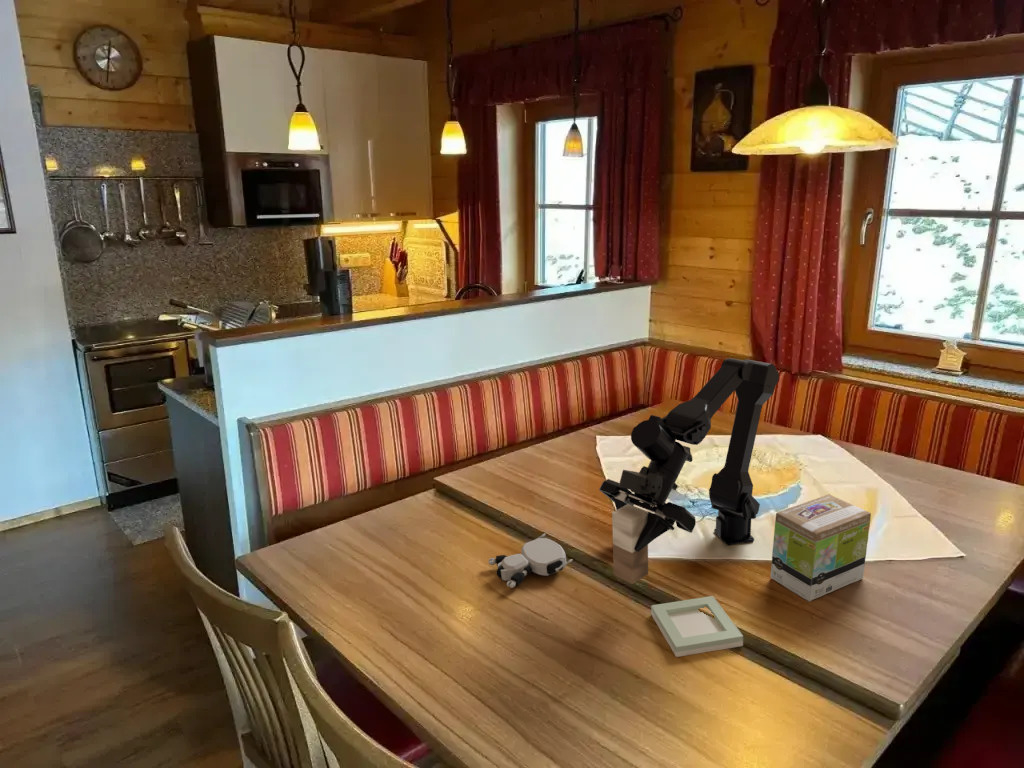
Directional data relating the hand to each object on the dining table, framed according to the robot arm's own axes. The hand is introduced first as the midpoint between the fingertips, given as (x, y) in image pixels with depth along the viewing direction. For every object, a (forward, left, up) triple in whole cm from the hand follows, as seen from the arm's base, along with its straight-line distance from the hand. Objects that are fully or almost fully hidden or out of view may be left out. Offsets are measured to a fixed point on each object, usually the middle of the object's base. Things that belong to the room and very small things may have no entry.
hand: (625, 546), depth 129 cm
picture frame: (-10, +9, -13) cm, 19 cm away
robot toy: (+15, -17, -14) cm, 27 cm away
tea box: (-39, 0, -14) cm, 41 cm away
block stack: (-1, -1, -7) cm, 7 cm away
